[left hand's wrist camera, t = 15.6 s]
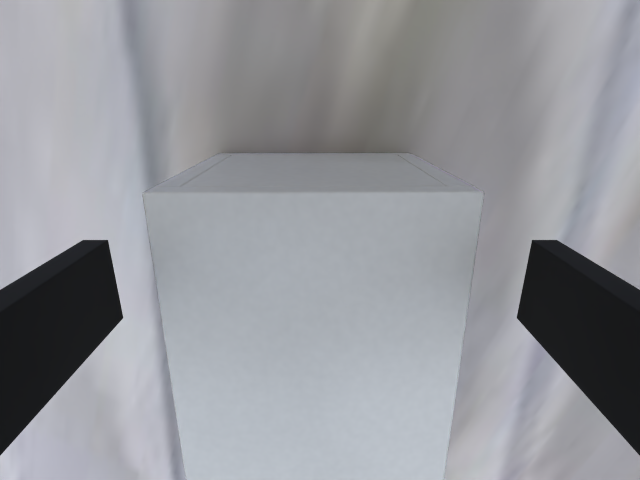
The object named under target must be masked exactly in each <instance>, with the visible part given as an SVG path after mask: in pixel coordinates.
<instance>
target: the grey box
mask: <svg viewBox="0 0 640 480" xmlns="http://www.w3.org/2000/svg"><path fill="white" fill-rule="evenodd" d="M142 195H143V201H144V208H145V215H146V221H147V228H148V234H149V241H150V248H151V254H152V261H153V267H154V274H155V280H156V287H157V294H158V300H159V307H160V313H161V320H162V326H163V333H164V340H165V346H166V353H167V359H168V366H169V373H170V379H171V386H172V392H173V399H174V405H175V412H176V419H177V425H178V432H179V438H180V445H181V451H182V458H183V465H184V471H185V478H186V480H444V476H445V469H446V462H447V454H448V447H449V440H450V433H451V426H452V419H453V412H454V405H455V398H456V391H457V384H458V376H459V369H460V362H461V355H462V348H463V341H464V334H465V327H466V320H467V313H468V306H469V299H470V291H471V284H472V277H473V270H474V263H475V256H476V249H477V242H478V235H479V228H480V221H481V213H482V206H483V199H484V192H483V191H481V190H480V189H478V188H476V187H474V186H473V185H471V184H469V183H467V182H465V181H463V180H461V179H459V178H457V177H456V176H454V175H452V174H450V173H448V172H446V171H444V170H442V169H440V168H438V167H436V166H434V165H433V164H431V163H429V162H427V161H425V160H423V159H421V158H419V157H417V156H415V155H413V154H411V153H219V154H217V155H214V156H212V157H211V158H209V159H207V160H205V161H203V162H201V163H199V164H197V165H195V166H193V167H191V168H189V169H187V170H185V171H183V172H181V173H180V174H178V175H176V176H174V177H172V178H170V179H168V180H166V181H164V182H162V183H160V184H158V185H156V186H154V187H153V188H151V189H149V190H147V191H145V192H143V194H142Z"/></svg>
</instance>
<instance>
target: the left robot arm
mask: <svg viewBox="0 0 640 480" xmlns="http://www.w3.org/2000/svg"><path fill="white" fill-rule="evenodd" d="M122 319H123V315H122V310H121V304H120V299H119V294H118V289H117V284H116V279H115V274H114V269H113V264H112V259H111V254H110V249H109V244H108V240H83V241H81V242H79V243H78V244H76V245H74V246H73V247H71V248H69V249H68V250H66V251H64V252H63V253H61V254H59V255H58V256H56V257H54V258H53V259H51V260H49V261H48V262H46V263H44V264H43V265H41V266H39V267H38V268H36V269H34V270H33V271H31V272H29V273H28V274H26V275H24V276H23V277H21V278H19V279H18V280H16V281H14V282H13V283H11V284H9V285H8V286H6V287H4V288H3V289H1V290H0V455H1V454H2V453H3V452H4V451H5V450H6V448H7V447H8V446H9V445H10V444H11V443H12V442H13V441H14V439H15V438H16V437H17V436H18V435H19V434H20V433H21V432H22V431H23V429H24V428H25V427H26V426H27V425H28V424H29V423H30V422H31V420H32V419H33V418H34V417H35V416H36V415H37V414H38V413H39V412H40V410H41V409H42V408H43V407H44V406H45V405H46V404H47V403H48V401H49V400H50V399H51V398H52V397H53V396H54V395H55V394H56V392H57V391H58V390H59V389H60V388H61V387H62V386H63V385H64V384H65V382H66V381H67V380H68V379H69V378H70V377H71V376H72V375H73V373H74V372H75V371H76V370H77V369H78V368H79V367H80V366H81V364H82V363H83V362H84V361H85V360H86V359H87V358H88V357H89V356H90V354H91V353H92V352H93V351H94V350H95V349H96V348H97V347H98V345H99V344H100V343H101V342H102V341H103V340H104V339H105V338H106V337H107V335H108V334H109V333H110V332H111V331H112V330H113V329H114V328H115V326H116V325H117V324H118V323H119V322H120V321H121V320H122ZM517 319H518V320H519V321H520V322H521V323H522V324H523V325H524V326H525V328H526V329H527V330H528V331H529V332H530V333H531V334H532V335H533V337H534V338H535V339H536V340H537V341H538V342H539V343H540V344H541V345H542V347H543V348H544V349H545V350H546V351H547V352H548V353H549V354H550V356H551V357H552V358H553V359H554V360H555V361H556V362H557V363H558V364H559V366H560V367H561V368H562V369H563V370H564V371H565V372H566V373H567V375H568V376H569V377H570V378H571V379H572V380H573V381H574V382H575V384H576V385H577V386H578V387H579V388H580V389H581V390H582V391H583V392H584V394H585V395H586V396H587V397H588V398H589V399H590V400H591V401H592V403H593V404H594V405H595V406H596V407H597V408H598V409H599V410H600V412H601V413H602V414H603V415H604V416H605V417H606V418H607V419H608V420H609V422H610V423H611V424H612V425H613V426H614V427H615V428H616V429H617V431H618V432H619V433H620V434H621V435H622V436H623V437H624V438H625V439H626V441H627V442H628V443H629V444H630V445H631V446H632V447H633V448H634V450H635V451H636V452H637V453H638V454H639V455H640V290H639V289H637V288H636V287H634V286H632V285H631V284H629V283H627V282H626V281H624V280H622V279H621V278H619V277H617V276H616V275H614V274H612V273H611V272H609V271H607V270H606V269H604V268H602V267H601V266H599V265H597V264H596V263H594V262H592V261H591V260H589V259H587V258H586V257H584V256H582V255H581V254H579V253H577V252H576V251H574V250H572V249H571V248H569V247H567V246H566V245H564V244H562V243H561V242H559V241H557V240H532V244H531V249H530V254H529V259H528V264H527V269H526V274H525V279H524V284H523V289H522V294H521V299H520V304H519V310H518V315H517Z"/></svg>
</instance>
